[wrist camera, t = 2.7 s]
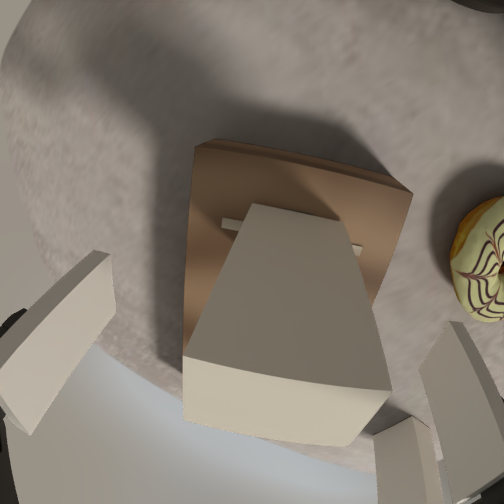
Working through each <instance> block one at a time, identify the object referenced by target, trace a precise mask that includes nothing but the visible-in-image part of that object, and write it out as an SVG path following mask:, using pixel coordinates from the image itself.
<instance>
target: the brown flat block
mask: <svg viewBox="0 0 504 504" xmlns="http://www.w3.org/2000/svg"><path fill="white" fill-rule="evenodd" d="M412 197H413V193H412V192H411V191H410V190H408V189H407V188H406V187H405V186H403V185H402V184H401V183H400V182H399V181H397V180H396V179H395V178H394V177H391V176H387V175H384V174H380V173H377V172H373V171H370V170H366V169H362V168H359V167H355V166H351V165H347V164H343V163H339V162H335V161H331V160H326V159H322V158H318V157H313V156H309V155H304V154H299V153H294V152H289V151H284V150H279V149H274V148H269V147H263V146H257V145H252V144H246V143H239V142H233V141H226V140H219V139H213V140H210V141H208V142H205V143H203V144H200V145H198V146H195V153H194V162H193V172H192V182H191V193H190V204H189V217H188V230H187V245H186V263H185V284H184V312H183V354H184V352H185V349H186V347H187V345H188V343H189V340H190V338H191V336H192V334H193V331H194V329H195V327H196V325H197V322H198V320H199V318H200V316H201V313H202V311H203V309H204V307H205V304H206V302H207V300H208V298H209V296H210V293H211V291H212V289H213V287H214V285H215V282H216V280H217V278H218V276H219V274H220V271H221V269H222V267H223V265H224V263H225V260H226V258H227V256H228V254H229V252H230V250H231V247H232V245H233V243H234V241H235V239H236V237H237V234H238V232H239V230H240V228H241V226H242V224H243V222H244V219H245V217H246V215H247V213H248V211H249V209H250V207H251V205H252V203H255V204H260V205H265V206H270V207H275V208H280V209H285V210H290V211H294V212H299V213H304V214H308V215H313V216H318V217H322V218H327V219H331V220H335V221H340V222H344V224H345V227H346V230H347V233H348V236H349V238H350V241H351V244H352V247H353V250H354V253H355V256H356V259H357V262H358V265H359V268H360V271H361V274H362V277H363V281H364V284H365V287H366V290H367V294H368V297H369V300H370V304H371V307H372V304H373V302H374V300H375V298H376V295H377V293H378V290H379V288H380V286H381V283H382V281H383V278H384V276H385V273H386V271H387V268H388V266H389V263H390V261H391V258H392V256H393V253H394V250H395V247H396V245H397V242H398V239H399V236H400V234H401V231H402V228H403V225H404V222H405V219H406V216H407V213H408V210H409V207H410V204H411V200H412Z"/></svg>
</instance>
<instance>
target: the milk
mask: <svg viewBox="0 0 504 504" xmlns="http://www.w3.org/2000/svg"><path fill="white" fill-rule="evenodd" d="M373 441H374V451H375V463H376V475H377V490H378V504H444V501H443V494H442V487H441V481H440V475H439V470H438V465H437V459H436V454H435V450H434V445H433V440H432V436H431V432H430V428H428V427H427V426H426V425H424V424H423V423H421V422H420V421H419V420H417V419H416V418H414V417H413V416H411V417H409V418H407V419H405V420H403V421H402V422H400V423H398V424H396V425H394V426H392V427H390V428H388V429H386V430H384V431H382V432H379V433H377V434H375V435H373Z"/></svg>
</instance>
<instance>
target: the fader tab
mask: <svg viewBox="0 0 504 504" xmlns="http://www.w3.org/2000/svg"><path fill="white" fill-rule="evenodd" d="M391 393H392V386H391V381H390V377H389V373H388V368H387V364H386V360H385V356H384V352H383V348H382V344H381V340H380V336H379V332H378V329H377V325H376V321H375V318H374V314H373V311H372V307H371V304H370V300H369V297H368V294H367V290H366V287H365V284H364V281H363V277H362V274H361V271H360V268H359V265H358V262H357V259H356V256H355V253H354V250H353V247H352V244H351V241H350V238H349V236H348V233H347V230H346V227H345V224H344V222H340V221H335V220H331V219H327V218H322V217H318V216H313V215H308V214H304V213H299V212H294V211H290V210H285V209H280V208H275V207H270V206H265V205H260V204H255V203H252V205H251V207H250V209H249V211H248V213H247V215H246V217H245V219H244V222H243V224H242V226H241V228H240V230H239V232H238V234H237V237H236V239H235V241H234V243H233V245H232V247H231V250H230V252H229V254H228V256H227V258H226V260H225V263H224V265H223V267H222V269H221V271H220V274H219V276H218V278H217V280H216V282H215V285H214V287H213V289H212V291H211V293H210V296H209V298H208V300H207V302H206V304H205V307H204V309H203V311H202V313H201V316H200V318H199V320H198V322H197V325H196V327H195V329H194V331H193V334H192V336H191V338H190V340H189V343H188V345H187V347H186V349H185V352H184V354H183V413H184V420H185V421H189V422H193V423H196V424H200V425H204V426H208V427H213V428H216V429H221V430H225V431H230V432H234V433H240V434H244V435H250V436H255V437H261V438H267V439H273V440H280V441H287V442H294V443H303V444H312V445H324V446H337V447H347V446H348V445H349V444H350V443H351V442H352V441H353V440H354V439H355V437H356V436H357V435H358V434H359V433H360V432H361V431H362V429H363V428H364V427H365V426H366V425H367V423H368V422H369V421H370V420H371V419H372V417H373V416H374V415H375V414H376V412H377V411H378V410H379V408H380V407H381V406H382V405H383V403H384V402H385V401H386V399H387V398H388V397H389V395H390V394H391Z"/></svg>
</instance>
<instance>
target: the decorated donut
mask: <svg viewBox="0 0 504 504" xmlns="http://www.w3.org/2000/svg"><path fill="white" fill-rule="evenodd" d="M449 260H450V268H451V274H452V280H453V285H454V290H455V293H456V296H457V298H458V300H459V302H460V303H461V305H462V306H463V308H464V309H465V310H466V311H467V312H468V313H469V314H470V315H471V316H472V317H473V318H475V319H477V320H480V321H482V322H493V321H499V320H503V319H504V264H503V265H502V266H501V264H502V263H503V261H504V196H499V197H494V198H493V199H490V200H487V201H485V202H483V203H481V204H480V205H479V206H477V207H476V208H474V209H473V210H472V211H470V212H469V213H468V214H467V215H466V217H465V218H464V219H462V221H461V222H460V224H459V226H458V232H457V234H456V236H455V239H454V241H453V244H452V248H451V250H450V254H449Z"/></svg>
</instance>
